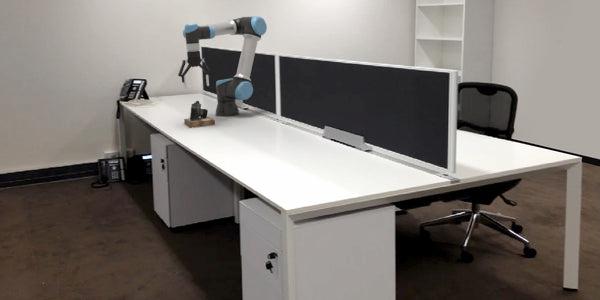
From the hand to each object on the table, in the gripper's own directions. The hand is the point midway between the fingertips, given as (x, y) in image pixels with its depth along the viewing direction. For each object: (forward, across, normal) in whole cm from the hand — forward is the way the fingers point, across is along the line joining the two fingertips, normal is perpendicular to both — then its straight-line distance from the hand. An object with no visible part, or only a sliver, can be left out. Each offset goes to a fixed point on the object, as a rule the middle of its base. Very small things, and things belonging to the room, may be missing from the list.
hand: (196, 87), depth 354 cm
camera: (+19, 0, -1) cm, 19 cm away
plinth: (+22, 0, 0) cm, 23 cm away
